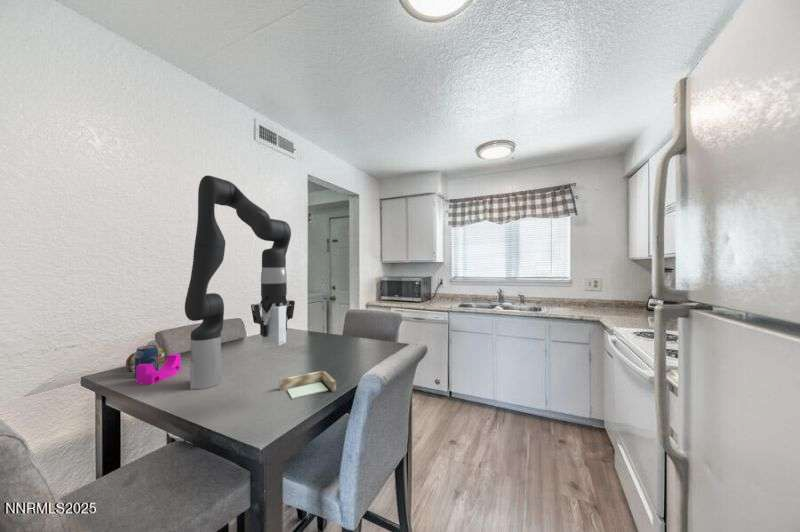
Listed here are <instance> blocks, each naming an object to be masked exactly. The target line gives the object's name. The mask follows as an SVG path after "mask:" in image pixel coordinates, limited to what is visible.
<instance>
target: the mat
mask: <svg viewBox="0 0 800 532" xmlns="http://www.w3.org/2000/svg"><path fill="white" fill-rule="evenodd" d="M286 391H287V393H288V395H289V397H290V398H291V400H296V399H298V398H303V397H308V396H312V395H316V394H319V393H323V392H325V393H326V392H327V391H329V388H328V387H326V385H324V384H323V383H322V381H320V382H316V383H311V384H307V385H302V386H297V387H293V388H288V389H286Z"/></svg>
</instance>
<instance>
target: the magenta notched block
mask: <svg viewBox="0 0 800 532" xmlns="http://www.w3.org/2000/svg"><path fill="white" fill-rule="evenodd" d="M181 356H182V355H181V353H171V354H168V355H167V357H166V358H167V359H166V362H165V363H164V364H163V366H162V367H161V368H158V371H156V370H155V369H154V368H153V364H141V365H138V366H136V377H135V379H136V380H135V382H136V383H143V384H142V385H148V384H152V385H154V384H153V383H155V384H157V383H159V382H161V381H160V380H162V381H163V379H164V380H166V379H168V378H167V377H169V378H170V376H171V377H173V376H175V375H174V374H176V375H177V372H179V371H181V370H182V369H181V366H182V365H181V364H182V363H181V362H182V359H181ZM180 369H181V370H180ZM178 370H179V371H178ZM172 375H173V376H172ZM165 378H166V379H165ZM158 381H159V382H158ZM156 382H157V383H156Z"/></svg>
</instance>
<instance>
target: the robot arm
mask: <svg viewBox="0 0 800 532" xmlns="http://www.w3.org/2000/svg"><path fill="white" fill-rule="evenodd" d="M215 205H218V206H224V207H225V206H227V207H229V208H231V209H234V210H235V212H236V215H237V217H238V218H239V219H240V220H241V221H242V222H243V223H245V224H246V225H247V226H248V227H250V228H251V230H252V232H253V233H254V235H255V236H256V237H257V238H258V239H260V240H262V241H265V242H267V241H268V242H273V243H272V246H271V248H266V249H264V250H262V253H261V273H260V296H261V300H260V302H259V303H252V304H251V305H250V309H251V315H252V320H253V323H254V324H258V325H259V333H260V335H261V338H262V337H267V336H268V325H267V323H268V320H269V318H270V317H271V315H272V312H273V308H274V307H278V306H286V332H287V330H288V321H290V319H293V317H294V311H295V304H296V301H295V300H290V299H289V300H288V299H287V294H288V293H287V287H288V286H287V282H288V281H287V266H286V265H287V264H286V262H287V261H286V259H287V257H286V255H287V252H288V249H289V245H290V242H291V237H292V229H291V227H290V225H289V223H288V222H287V221H284V220H281V219H275V218H274V219H273V218H271V216H270V214H269V213H268V212H267V211H266V210H265V209H263V208H261V207H260V206H258V205H257V204H256V203H254V202H253V201H252V200H250V199H249V198H248V197H247V196H246V195H245V194H244V193H243V192H242V191H241V190H240V189H239V188H238V186H237V185H236V184H234V183H233V182H232V181H229V180H226V179H223V178H220V177H216V176H213V175H204V176H203V177H202V178H201V180H200V181H199V184H198V191H197V224H196V232H195V238H194V247H193V257H192V267H191V273H190V280H189V284H188V288H187V293H186V297H185V301H184V302H185V303H184V313H185V316H186V318H187V319H188V320H189V321H192V322H197V321H202V322H201V323H200V325H198V326H197V327H196V328H195V329H193V330H191V332H190V364H189V365H190V366H189V368H190V369H189V375H190V376H189V386H190V388H189V389H190V391H191V390H204V389H210V388H212V387H216V386H218V385H219V384H221V382H222V330H223V328H224V316H225V304H224V303H225V302H224V299H223V298H222V296H221V295H220V294H219V293H217V292H216V293H209V292H208V287H209V284H210V282H211V280H212V277H214V275H215V273H216V272H217V271H218V269H219V268H220V267H221V266H222V263H223V261H224V257H225V251H226V240H225V237H224V234H223V232H222V230H221V228H220V227H219V224H218V222H217V219H216V214H215V207H216V206H215ZM207 292H208V293H207ZM262 308H263V309H264V311H265V312H266V313H267V314H264V313H262V312H261V311H262Z"/></svg>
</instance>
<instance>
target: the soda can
mask: <svg viewBox="0 0 800 532" xmlns="http://www.w3.org/2000/svg"><path fill="white" fill-rule="evenodd" d="M157 347H158V346H157V345H156V344H151V345H149V344H148V345H142V346H138V347H137V348H136V350H135V352H134V353H135V371H134V378H136V366H138V365H141V364H153V368H154V369H155V370H156V371H158V370H159V363H158V349H157Z"/></svg>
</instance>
